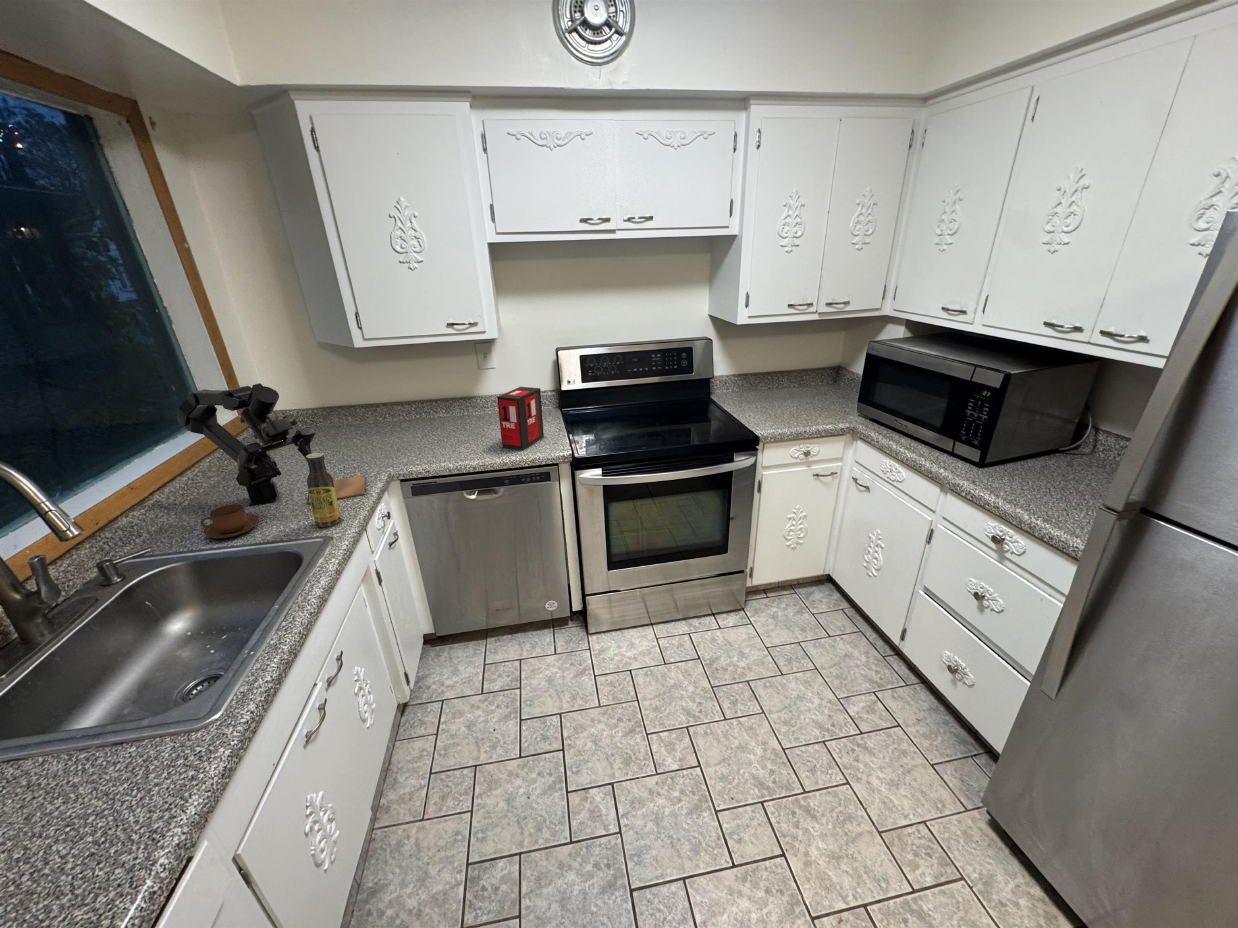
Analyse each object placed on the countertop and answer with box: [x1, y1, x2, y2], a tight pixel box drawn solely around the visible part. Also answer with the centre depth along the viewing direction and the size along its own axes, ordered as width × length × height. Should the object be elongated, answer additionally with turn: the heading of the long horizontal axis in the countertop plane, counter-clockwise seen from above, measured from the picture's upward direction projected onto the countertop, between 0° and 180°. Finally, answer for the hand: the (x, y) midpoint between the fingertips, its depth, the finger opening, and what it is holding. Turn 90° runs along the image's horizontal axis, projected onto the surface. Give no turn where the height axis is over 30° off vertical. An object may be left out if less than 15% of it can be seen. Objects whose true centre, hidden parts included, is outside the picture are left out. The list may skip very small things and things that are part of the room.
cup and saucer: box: [199, 503, 260, 539], centre depth 133 cm, size 12×12×6 cm
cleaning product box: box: [496, 386, 545, 451], centre depth 194 cm, size 16×9×20 cm, turn 160°
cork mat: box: [307, 475, 366, 505], centre depth 158 cm, size 15×15×1 cm
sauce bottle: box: [305, 452, 341, 528], centre depth 134 cm, size 7×6×20 cm
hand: (297, 468), depth 138 cm, fingers open, 9 cm apart
